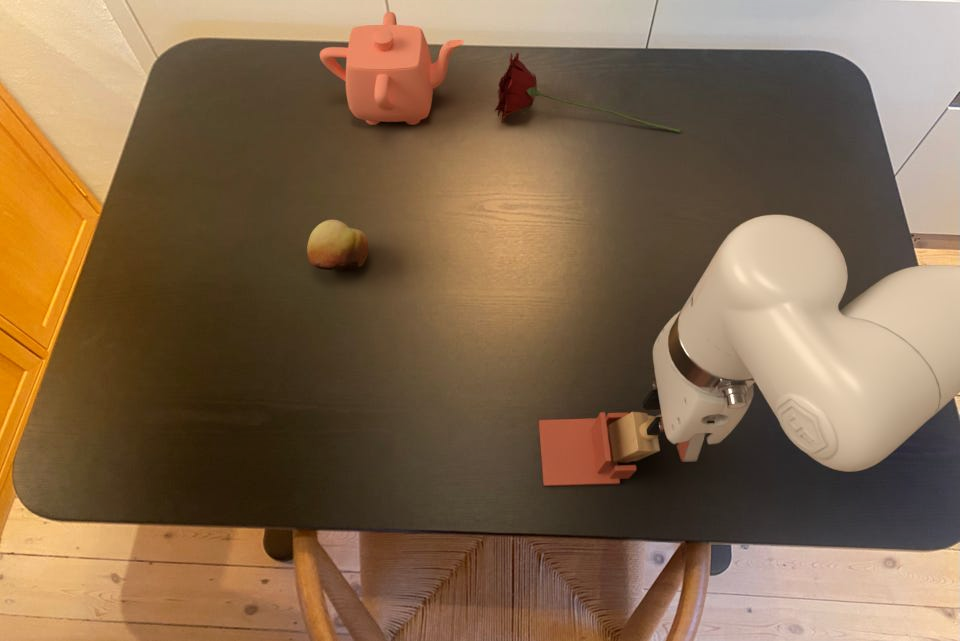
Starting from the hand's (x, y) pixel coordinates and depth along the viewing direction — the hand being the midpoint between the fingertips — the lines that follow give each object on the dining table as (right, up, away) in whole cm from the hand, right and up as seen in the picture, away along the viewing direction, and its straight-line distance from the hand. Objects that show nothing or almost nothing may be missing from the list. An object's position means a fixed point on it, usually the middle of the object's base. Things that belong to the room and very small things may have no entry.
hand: (659, 418), depth 62 cm
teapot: (-32, +46, +38) cm, 67 cm away
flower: (-1, +43, +36) cm, 56 cm away
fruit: (-38, +18, +24) cm, 48 cm away
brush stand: (-6, -6, +11) cm, 14 cm away
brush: (+2, -1, +3) cm, 3 cm away
